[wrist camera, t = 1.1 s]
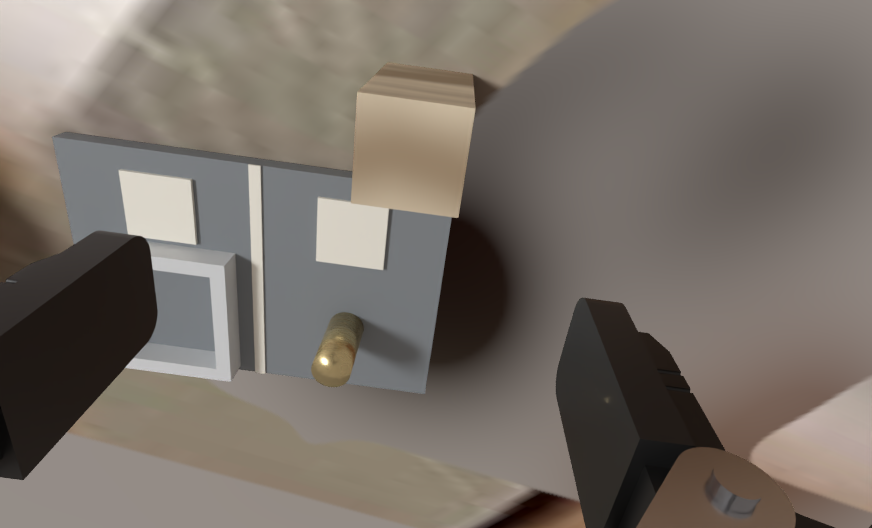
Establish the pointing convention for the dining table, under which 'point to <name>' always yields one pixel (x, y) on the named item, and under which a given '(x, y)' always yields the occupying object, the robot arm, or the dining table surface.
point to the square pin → (413, 139)
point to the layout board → (261, 260)
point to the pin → (338, 350)
